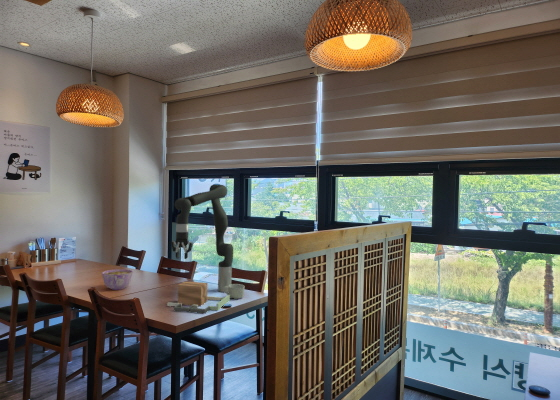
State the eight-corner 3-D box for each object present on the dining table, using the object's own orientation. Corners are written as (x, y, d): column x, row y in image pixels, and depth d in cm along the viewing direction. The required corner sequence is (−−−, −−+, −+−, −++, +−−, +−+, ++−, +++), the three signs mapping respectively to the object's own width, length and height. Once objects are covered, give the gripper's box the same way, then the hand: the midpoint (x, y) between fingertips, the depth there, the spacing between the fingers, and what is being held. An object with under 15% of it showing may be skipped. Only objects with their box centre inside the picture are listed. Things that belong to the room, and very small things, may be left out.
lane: (182, 297, 250) (182, 291, 250) (229, 301, 244) (229, 294, 244) (161, 309, 222) (161, 302, 222) (213, 314, 216) (213, 307, 216)
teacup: (244, 295, 258) (245, 284, 258) (243, 300, 247) (244, 287, 247) (224, 295, 258) (224, 283, 258) (222, 299, 247) (222, 287, 247)
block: (184, 300, 244) (185, 281, 244) (207, 302, 241) (207, 282, 241) (177, 304, 234) (178, 284, 234) (200, 306, 231) (201, 286, 231)
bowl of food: (121, 293, 257) (121, 275, 257) (95, 290, 261) (95, 273, 261) (138, 286, 277) (138, 270, 276) (113, 284, 281) (113, 268, 280)
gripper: (195, 231, 240) (194, 258, 240) (174, 230, 243) (173, 257, 243) (190, 232, 233) (189, 260, 233) (168, 231, 235) (168, 258, 236)
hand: (181, 258), depth 238 cm, fingers open, 4 cm apart
